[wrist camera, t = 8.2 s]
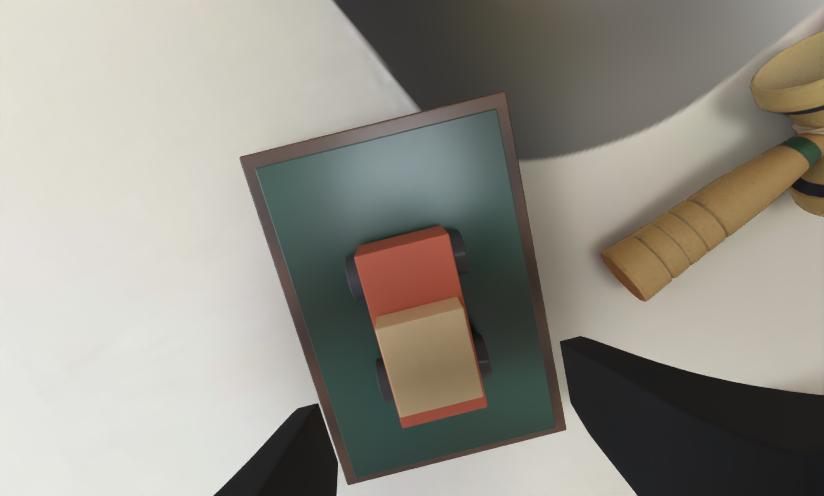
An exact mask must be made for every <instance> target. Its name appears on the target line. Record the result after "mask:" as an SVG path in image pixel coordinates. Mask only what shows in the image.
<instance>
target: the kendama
mask: <svg viewBox="0 0 824 496" xmlns="http://www.w3.org/2000/svg"><path fill="white" fill-rule="evenodd" d="M750 88H751V89H752V93H753V96H754V99H755V102H756V104H757V105H758V106H759V107H760V108H761V109H762V110H766V111H770V112H775V113H780V114H783V115H786V116H788V117H790V118H791V119H792V120H794V124H793V126H792V128H793V129H794V130H796V131H797V135H796V136H794V137H792V138H790V139H789V140H787V141H785V142H783V143H781V144H779V145H777V146H776V147H774V148H772V149H770V150H768V151H766V152H765V153H763V154H761V155H759V156H758V157H756V158H754V159H752V160H750V161H748V162H746V163H745V164H743V165H741V166H739V167H737V168H736V169H734V170H732V171H731V172H729V173H727V174H725V175H724V176H722V177H721V178H719V179H717V180H716V181H714V182H712V183H711V184H709V185H708V186H706V187H704V188H703V189H701V190H700V191H698V192H697V193H695V194H693V195H692V196H690V197H689V198H688V199H687V200H686V201H683V202H681V203H680V204H678V205H677V206H675V207H674V208H672V209H671V210H669V211H668V212H667V213H665V214H663V215H661V216H659V217H658V218H656V219H655V220H653V221H652V222H650V223H649V224H647V225H645V226H644V227H642V228H640V229H639V230H637V231H636V232H634V233H633V234H632V236H628V237H626V238H625V239H623V240H621V241H619V242H618V243H616V244H614V245H613V246H611V247H609V248H607V249H606V250H605V251H603V252H601V257H602V259H603V261H604V263H605V264H606V265H607V267H608V268H609V269H610V270H611V272H612V273H613V274H614V275H615V277H616V278H617V279H618V280H619V281H620V282H621V283H622V284H623V285H624V286H625V287H626V288H627V289H628V290H629V291H630V292H631V293H632V294H633V295H634V296H636V297H637V298H638V299H640V300H642V301H647V300H649V299H650V298H652V297H653V296H654V295H655V294H656V293H658V292H659V291H660V290H661V289H662V288H664V287H665V286H666V285H667V284H668V283H670V282H671V280H672V278H675V277H677V276H678V275H680V274H681V273H682V272H683V271H685V270H686V269H687V268H688V267H689V266H690V265H692V264H693V263H695V262H696V261H698V260H699V259H700V258H701V257H703V256H704V255H705V254H706V252H708V251H710V250H712V249H713V248H715V247H716V246H717V245H718V244H720V243H721V242H722V241H723V240H724V239H725V237H728V236H730V235H732V234H733V233H734V232H736V231H737V230H738V229H739V228H741V227H742V226H743V225H745V224H746V223H747V222H748V221H750V220H751V219H752V218H754V217H755V216H756V215H757V214H759V213H760V212H761V211H762V210H763V209H765V208H766V207H767V206H768V205H769V204H770V203H772V202H773V201H774V200H775V199H776V198H777V197H779V196H780V195H781V194H782V193H783V192H784V191H785V190H786V189H787V188H788V189H789V191H790V193H791V195H792V197H793V199H794V200H795V203H796V204H797V205H798V206H799V207H801V208H802V209H803V210H805V211H807V212H809V213H812V214H815V215H819V216H823V217H824V31H822V32H820V33H817V34H814V35H812V36H810V37H808V38H806V39H804V40H802V41H800V42H798V43H796V44H794V45H792V46H791V47H789V48H787V49H785V50H784V51H782V52H781V53H779V54H778V55H776V56H775V57H773V58H772V59H771V60H769V61H768V62H767V63H766V64H765V65H764V66H763V67H762V68H761V69H760V70H759V71H758V72H757V73H756V74H755V76H754V77H753V79H752V81H751V85H750Z"/></svg>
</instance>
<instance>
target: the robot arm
mask: <svg viewBox="0 0 824 496" xmlns="http://www.w3.org/2000/svg"><path fill="white" fill-rule="evenodd" d="M560 346H561V351H562V357H563V362H564V368H565V374H566V379H567V385H568V390H569V396H570V401H571V404H572V406H573V408H574V409H575V411H576V413H577V414H578V416H579V418H580V420H581V421H582V423H583V424H584V426H585V428H586V429H587V431H588V433H589V434H590V435H591V437H592V438H593V439H594V441H595V442H596V443H597V444H598V446H599V447H600V448H601V450H602V451H603V452H604V453H605V455H606V456H607V457H608V459H609V460H610V461H611V462H612V464H613V465H614V466H615V467H616V469H617V470H618V471H619V472H620V474H621V475H622V476H623V478H624V479H625V480H626V481H627V483H628V484H629V485H630V486H631V488H632V489H633V490H634V491H635V493H636V494H637V495H638V496H824V395H815V394H807V393H799V392H791V391H784V390H778V389H771V388H765V387H758V386H752V385H747V384H742V383H736V382H731V381H727V380H722V379H718V378H713V377H709V376H705V375H700V374H696V373H693V372H689V371H685V370H682V369H678V368H675V367H671V366H668V365H665V364H661V363H658V362H655V361H652V360H649V359H646V358H643V357H640V356H637V355H634V354H631V353H628V352H625V351H623V350H620V349H617V348H614V347H612V346H609V345H606V344H603V343H600V342H598V341H595V340H592V339H589V338H585V337H582V336H579V337H575V338H571V339H567V340H563V341H560ZM337 475H338V461H337V458H336V455H335V452H334V449H333V446H332V443H331V440H330V437H329V434H328V431H327V428H326V425H325V422H324V419H323V416H322V413H321V410H320V407H319V404H318V403H317V404H313V405H309V406H305V407H301V408H298V409H297V410H295V411H294V412H293V413H292V414H291V415H290V416H289V417H288V418H287V420H286V421H285V422H284V423H283V424H282V425H281V426H280V427H279V428H278V429H277V430H276V432H275V433H274V434H273V435H272V436H271V437H270V438H269V439H268V440H267V441H266V443H265V444H264V445H263V446H262V447H261V448H260V449H259V450H258V451H257V452H256V453H255V455H254V456H253V457H252V458H251V459H250V460H249V461H248V462H247V463H246V464H245V465H244V466H243V467H242V468H241V469H240V470H239V471H238V472H237V473H236V474H235V475H234V476H233V477H232V478H231V479H230V480H229V481H228V482H227V483H226V484H225V485H224V486H223V487H222V488H221V489H220V490H219V491H218V492H217V493H216V494H215V495H214V496H336V493H337Z"/></svg>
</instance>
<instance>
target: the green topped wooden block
mask: <svg viewBox="0 0 824 496" xmlns="http://www.w3.org/2000/svg"><path fill="white" fill-rule="evenodd" d="M240 162H241V165H242V168H243V171H244V174H245V177H246V180H247V183H248V186H249V189H250V192H251V195H252V198H253V201H254V204H255V207H256V210H257V213H258V216H259V219H260V222H261V225H262V228H263V231H264V234H265V237H266V240H267V243H268V246H269V249H270V252H271V255H272V258H273V261H274V264H275V267H276V270H277V273H278V276H279V279H280V282H281V285H282V288H283V291H284V294H285V297H286V300H287V303H288V307H289V310H290V313H291V316H292V319H293V322H294V325H295V328H296V331H297V334H298V337H299V340H300V343H301V346H302V349H303V352H304V355H305V358H306V361H307V364H308V367H309V370H310V373H311V376H312V379H313V382H314V385H315V388H316V391H317V394H318V397H319V400H320V403H321V406H322V409H323V412H324V415H325V418H326V421H327V424H328V427H329V430H330V433H331V436H332V439H333V442H334V445H335V448H336V451H337V454H338V457H339V460H340V463H341V466H342V469H343V472H344V476H345V479H346V482H347V484H348V485H351V484H355V483H359V482H363V481H367V480H371V479H375V478H379V477H383V476H386V475H390V474H394V473H398V472H402V471H406V470H410V469H414V468H418V467H422V466H426V465H430V464H434V463H438V462H442V461H446V460H450V459H454V458H457V457H461V456H465V455H469V454H473V453H477V452H481V451H485V450H489V449H493V448H497V447H501V446H505V445H509V444H513V443H517V442H521V441H524V440H528V439H532V438H536V437H540V436H544V435H548V434H552V433H556V432H560V431H564V430H566V424H565V419H564V413H563V408H562V402H561V397H560V391H559V385H558V380H557V374H556V369H555V363H554V358H553V352H552V346H551V341H550V335H549V330H548V324H547V319H546V313H545V308H544V302H543V296H542V291H541V285H540V280H539V274H538V269H537V263H536V258H535V252H534V246H533V241H532V235H531V230H530V224H529V219H528V213H527V207H526V202H525V196H524V191H523V185H522V180H521V174H520V169H519V163H518V157H517V152H516V147H515V141H514V136H513V130H512V124H511V118H510V113H509V107H508V102H507V96H506V92H505V91H502V92H499V93H495V94H490V95H486V96H482V97H478V98H474V99H470V100H467V101H462V102H458V103H454V104H450V105H446V106H442V107H438V108H434V109H430V110H426V111H422V112H418V113H414V114H410V115H406V116H402V117H398V118H394V119H390V120H386V121H382V122H378V123H374V124H370V125H366V126H362V127H358V128H354V129H350V130H346V131H342V132H338V133H334V134H330V135H326V136H322V137H318V138H314V139H310V140H306V141H302V142H298V143H294V144H290V145H286V146H282V147H278V148H274V149H270V150H265V151H261V152H257V153H253V154H249V155H245V156H241V157H240ZM439 225H441V226H442V227H443V228H444V229H445V230H446V231H451V230H455V229H458V230H459V231H460V233H461V236H462V238H463V241H464V244H465V248H466V252H467V256H468V261H469V272H468V273H466V274H462V275H458V277H459V281H460V285H461V290H462V294H463V299H464V303H465V307H466V312H467V316H468V321H469V325H470V329H471V334H472V335H473V334H477V333H480V334H481V335H482V337H483V339H484V341H485V344H486V347H487V350H488V354H489V357H490V361H491V366H492V376H489V377H485V378H482V382H483V387H484V391H485V396H486V400H487V404H488V406H487V407H485V408H481V409H477V410H474V411H470V412H466V413H462V414H458V415H454V416H450V417H446V418H442V419H438V420H434V421H430V422H426V423H422V424H418V425H414V426H410V427H406V428H402V425H401V421H400V418H399V414H398V411H397V407H396V404H395V400H394V401H390V402H384V400H383V399H382V396H381V393H380V390H379V386H378V382H377V376H376V368H375V362H376V359H378V358H382V355H381V351H380V348H379V344H378V341H377V337H376V334H375V330H374V326H373V323H372V319H371V316H370V312H369V309H368V305H367V302H366V299H363V300H359V301H356V300H355V299H354V297H353V295H352V293H351V290H350V287H349V284H348V280H347V276H346V270H345V258H346V257H348V256H352V255H355V254H356V251H357V249H358V246H359V245H363V244H367V243H371V242H375V241H379V240H383V239H387V238H391V237H395V236H399V235H403V234H407V233H411V232H415V231H419V230H423V229H427V228H431V227H435V226H439Z"/></svg>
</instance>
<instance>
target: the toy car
mask: <svg viewBox="0 0 824 496" xmlns="http://www.w3.org/2000/svg"><path fill="white" fill-rule="evenodd" d="M345 270H346V276H347V280H348V284H349V287H350V290H351V293H352V295H353V297H354V299H355V300H356V301H359V300H363V299H366V302H367V305H368V309H369V312H370V316H371V319H372V323H373V326H374V330H375V334H376V337H377V341H378V344H379V348H380V351H381V355H382V358H378V359H376V362H375V368H376V376H377V382H378V386H379V390H380V393H381V396H382V399H383V400H384V402H390V401H394V400H395V404H396V407H397V411H398V414H399V418H400V421H401V425H402V428H406V427H410V426H414V425H418V424H422V423H426V422H430V421H434V420H438V419H442V418H446V417H450V416H454V415H458V414H462V413H466V412H470V411H474V410H477V409H481V408H485V407H487V406H488V404H487V400H486V396H485V391H484V387H483V382H482V378H485V377H489V376H492V366H491V361H490V357H489V354H488V350H487V347H486V344H485V341H484V339H483V337H482V335H481V334H480V333H477V334H473V335H472V334H471V329H470V325H469V321H468V316H467V312H466V307H465V303H464V299H463V294H462V290H461V285H460V281H459V277H458V275H462V274H466V273H468V272H469V261H468V256H467V252H466V248H465V244H464V241H463V238H462V236H461V233H460V231H459V230H458V229H455V230H451V231H446V230H445V229H444V228H443V227H442V226H441V225H439V226H435V227H431V228H427V229H423V230H419V231H415V232H411V233H407V234H403V235H399V236H395V237H391V238H387V239H383V240H379V241H375V242H371V243H367V244H363V245H359V246H358V249H357V251H356V254H355V255H352V256H348V257H346V258H345Z"/></svg>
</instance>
